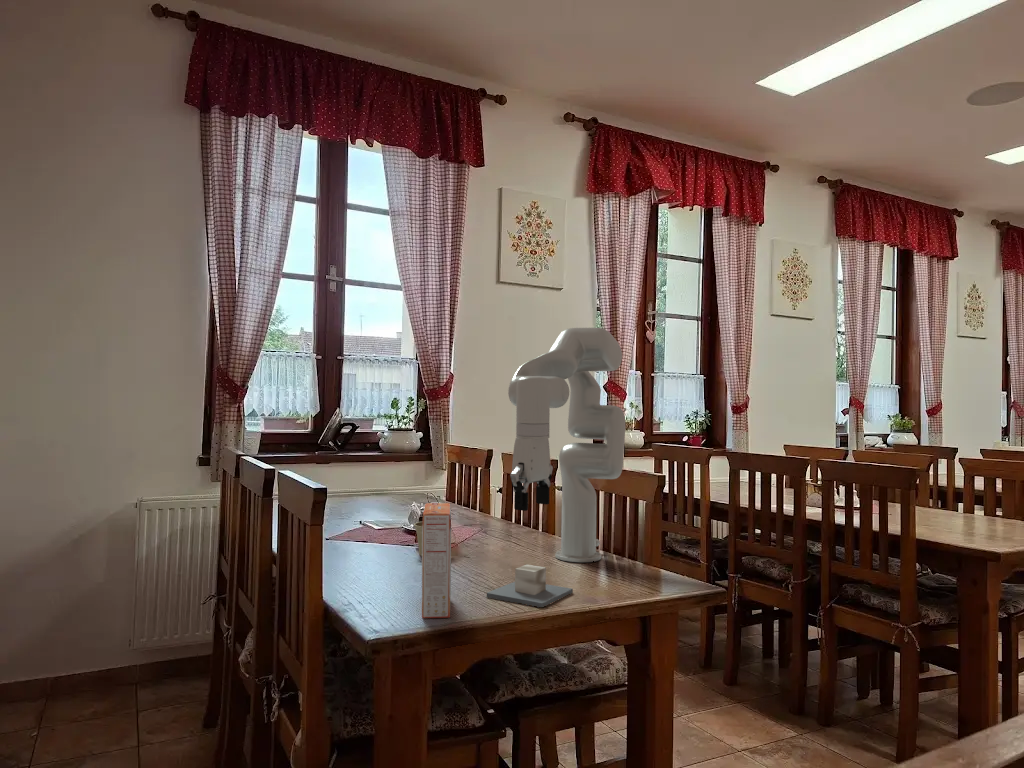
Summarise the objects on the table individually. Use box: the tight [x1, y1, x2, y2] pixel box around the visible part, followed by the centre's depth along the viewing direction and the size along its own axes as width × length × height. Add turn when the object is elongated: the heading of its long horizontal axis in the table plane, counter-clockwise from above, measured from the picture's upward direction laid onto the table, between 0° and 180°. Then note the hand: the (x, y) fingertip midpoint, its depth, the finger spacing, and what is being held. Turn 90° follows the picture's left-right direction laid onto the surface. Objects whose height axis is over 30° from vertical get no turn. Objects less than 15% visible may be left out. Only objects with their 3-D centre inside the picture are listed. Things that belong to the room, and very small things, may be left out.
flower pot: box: [413, 521, 422, 557], centre depth 200 cm, size 9×9×9 cm
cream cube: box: [514, 564, 547, 595], centre depth 161 cm, size 5×5×5 cm
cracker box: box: [421, 502, 452, 619], centre depth 150 cm, size 14×6×21 cm, turn 5°
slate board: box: [486, 581, 574, 608], centre depth 161 cm, size 14×14×1 cm
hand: (532, 506), depth 164 cm, fingers open, 9 cm apart
